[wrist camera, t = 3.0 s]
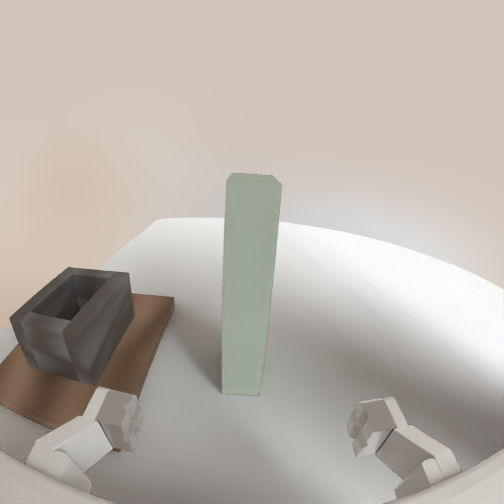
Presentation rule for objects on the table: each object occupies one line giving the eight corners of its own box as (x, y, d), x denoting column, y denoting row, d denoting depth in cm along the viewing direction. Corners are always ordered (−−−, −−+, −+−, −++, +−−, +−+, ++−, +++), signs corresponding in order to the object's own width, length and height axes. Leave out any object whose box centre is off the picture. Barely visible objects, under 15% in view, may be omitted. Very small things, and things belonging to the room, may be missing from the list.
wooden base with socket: (174, 305, 32) (171, 257, 30) (119, 451, 14) (90, 395, 12) (76, 294, 32) (68, 250, 30) (-12, 397, 13) (-44, 340, 11)
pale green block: (257, 349, 26) (272, 175, 21) (259, 395, 21) (281, 184, 15) (225, 347, 26) (232, 172, 21) (221, 393, 20) (226, 181, 15)
